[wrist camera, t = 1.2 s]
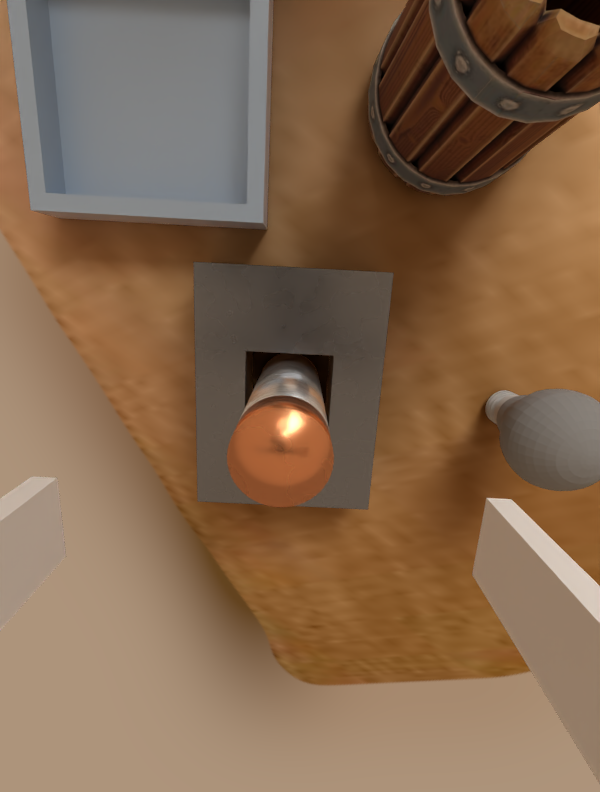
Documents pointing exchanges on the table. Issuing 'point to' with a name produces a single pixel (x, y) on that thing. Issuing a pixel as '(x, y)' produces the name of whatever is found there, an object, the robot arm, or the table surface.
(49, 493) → the robot arm
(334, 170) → the table surface
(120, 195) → the tray
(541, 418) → the light bulb
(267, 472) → the pin
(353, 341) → the hitch block
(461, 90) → the mug
